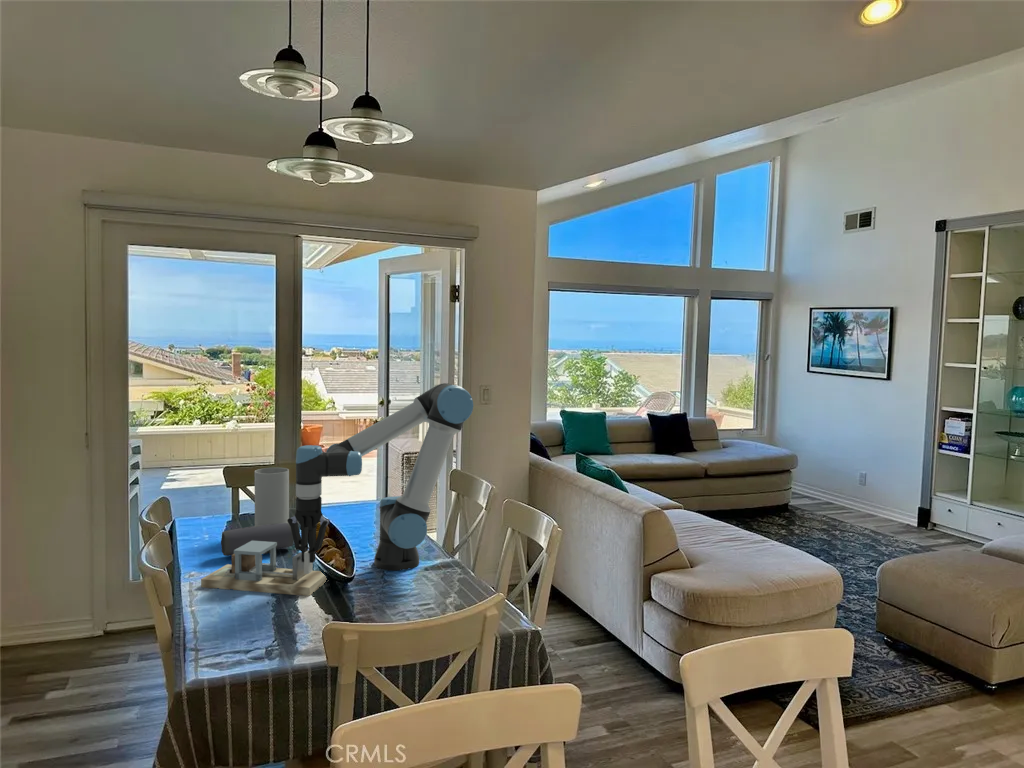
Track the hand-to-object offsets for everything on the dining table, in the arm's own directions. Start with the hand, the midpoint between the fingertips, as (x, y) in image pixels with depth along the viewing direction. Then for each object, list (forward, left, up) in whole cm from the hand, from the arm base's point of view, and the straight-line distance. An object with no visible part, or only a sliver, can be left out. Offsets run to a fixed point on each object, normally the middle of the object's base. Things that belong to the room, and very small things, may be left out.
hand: (308, 572), depth 207 cm
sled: (+14, 0, -2) cm, 14 cm away
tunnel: (+17, 0, -2) cm, 17 cm away
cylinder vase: (+38, -49, -5) cm, 63 cm away
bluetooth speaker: (+31, -26, -5) cm, 41 cm away
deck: (+14, 0, -5) cm, 15 cm away
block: (+21, 0, -1) cm, 22 cm away
